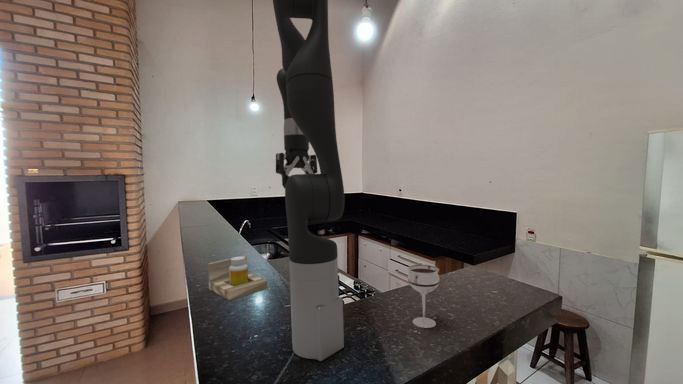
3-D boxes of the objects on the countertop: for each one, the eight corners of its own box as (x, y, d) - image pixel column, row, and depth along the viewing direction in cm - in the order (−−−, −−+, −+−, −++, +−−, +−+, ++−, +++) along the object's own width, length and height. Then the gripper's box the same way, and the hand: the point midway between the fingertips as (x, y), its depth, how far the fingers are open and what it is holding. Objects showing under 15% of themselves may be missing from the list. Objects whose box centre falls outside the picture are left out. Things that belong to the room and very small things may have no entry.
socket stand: (267, 288, 90) (266, 262, 89) (229, 300, 81) (228, 271, 81) (245, 278, 99) (244, 255, 99) (208, 289, 90) (207, 263, 90)
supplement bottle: (227, 289, 90) (225, 258, 89) (244, 285, 93) (243, 254, 93) (233, 294, 86) (232, 261, 85) (251, 289, 89) (250, 258, 89)
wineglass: (431, 314, 70) (430, 263, 69) (446, 328, 63) (445, 272, 62) (403, 317, 68) (402, 265, 68) (416, 331, 62) (415, 274, 61)
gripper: (284, 131, 83) (286, 188, 84) (321, 135, 94) (323, 187, 94) (269, 134, 88) (271, 188, 89) (306, 138, 99) (308, 187, 99)
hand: (298, 187), depth 92 cm, fingers open, 8 cm apart
